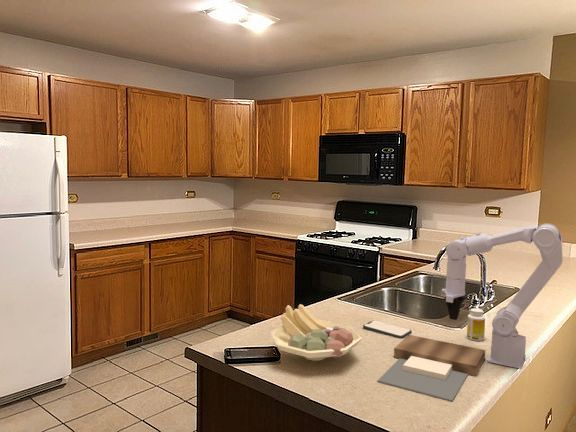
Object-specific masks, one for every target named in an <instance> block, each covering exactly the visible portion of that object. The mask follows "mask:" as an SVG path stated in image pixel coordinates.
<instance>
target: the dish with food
mask: <svg viewBox="0 0 576 432" xmlns="http://www.w3.org/2000/svg"><path fill="white" fill-rule="evenodd" d="M280 320H281V322H282V325H281V326H279V327H276V328H275V329H273V330H271V331H270V335H271V337H272V338H273V340H274V342H275V345H276V346H277V348H278V349H279V351H282V352H285V353H288V354H293V355H296V356H300V357H303V358H305V359H306V360H309V361H313V362H316V361H317V362H318V361H323V360H324V359H326V358H331V357H332V358H340V357H342V356H344V355H346V354H347V353H348V352H349V351H352V350H353V348H355V347H356V346H357V345H358V344H359V343H360V342H361V340H362V339H363V338H362V337H361V336H360V335H359V333H358V332H357V331H355V330H354V329H353V328H352V327H351V326H350V325H347V324H342V323H337V322H332V321H328V320H323V319H318V318H316V317H315V316H314V315H313V314H312V313H311V312H310V311H309V310H308V309H307V307H305V306H304V305H303V304H301V303H300V304H299V305H298V306H297V308H294V309H293V307H292V306H290V305H289V304H287V306H286V307H285V312H284V313H282V315H281V316H280Z"/></svg>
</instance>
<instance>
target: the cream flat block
mask: <svg viewBox="0 0 576 432" xmlns="http://www.w3.org/2000/svg"><path fill="white" fill-rule="evenodd" d="M403 370H404V371H409V372H413V373H417V374H421V375H425V376H430V377H434V378H438V379H442V380H446V378H447V377H448V375H449V374H450V372H451V370H452V365H451V364H447V363H442V362H438V361H433V360H428V359H424V358H419V357H415V356H411V357H410V358H409V359H408V360H407V361H406V362H405V363H404V364H403Z"/></svg>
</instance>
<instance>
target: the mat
mask: <svg viewBox="0 0 576 432" xmlns="http://www.w3.org/2000/svg"><path fill="white" fill-rule="evenodd" d="M406 361H407V360H405V359H401V358H397V360H396V361H395V362H394V363H393V364H392V365H391V366H390V367H389V368H388V369H387V370H386V371H385V372H384V373H383V374H382V375H381V376H380V377H379V378H378V380H377V383H381V384H384V385H387V386H391V387H395V388H399V389H402V390H407V391H409V392H410V391H411V392H414V393H418V394H422V395H425V396H429V397H432V398H436V399H440V400H444V401H448V402H453V401H454V400H455V398H456V396H457V394H458V393H459V392H460V389H461V388H462V386H463V384H464V382H465V381H466V379H467V378H468V376H469V375H468V374H466V373H462V372H457V371H453V370H451V372H450V374H449V375H448V377H447V378H446V380H442V379H438V378H434V377H430V376H425V375H421V374H417V373H413V372H409V371H404V370H403V364H404V363H405V362H406Z"/></svg>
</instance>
